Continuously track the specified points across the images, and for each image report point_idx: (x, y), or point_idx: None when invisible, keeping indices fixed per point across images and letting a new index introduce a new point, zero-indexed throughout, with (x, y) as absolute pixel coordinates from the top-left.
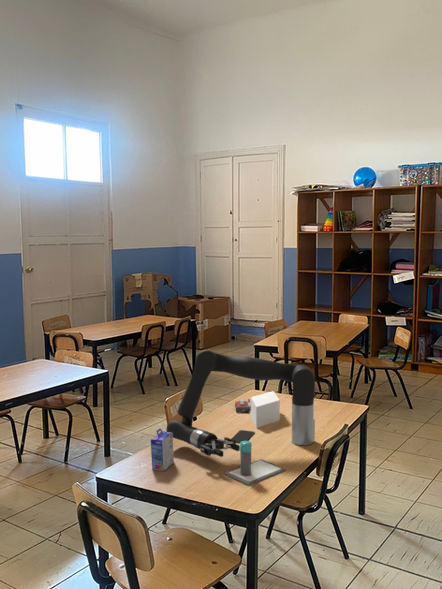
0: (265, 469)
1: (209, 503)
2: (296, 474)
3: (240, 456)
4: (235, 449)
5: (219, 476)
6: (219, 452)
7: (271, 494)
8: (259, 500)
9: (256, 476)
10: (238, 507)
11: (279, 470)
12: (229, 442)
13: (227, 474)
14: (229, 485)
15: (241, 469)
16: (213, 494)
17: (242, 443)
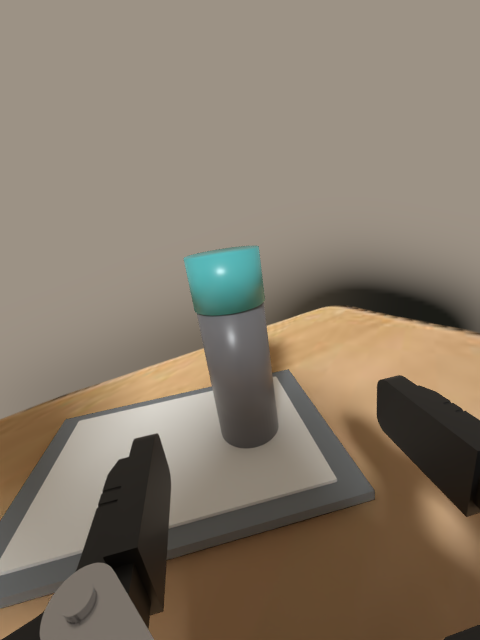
0: (132, 435)
1: (458, 331)
2: (86, 392)
3: (264, 338)
4: (166, 515)
5: (415, 488)
6: (424, 388)
7: None
8: (299, 326)
9: None
10: (365, 316)
11: (98, 415)
12: (128, 628)
13: (353, 463)
14: (365, 391)
15: (274, 394)
16: (447, 359)
17: (245, 248)
